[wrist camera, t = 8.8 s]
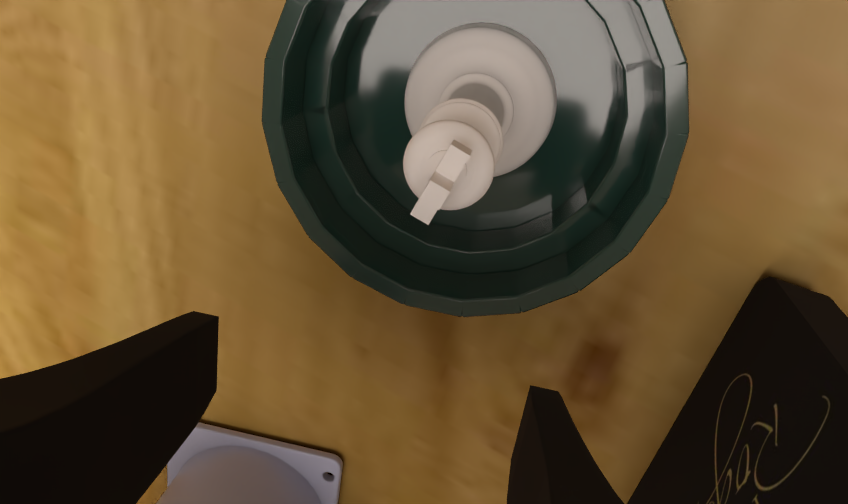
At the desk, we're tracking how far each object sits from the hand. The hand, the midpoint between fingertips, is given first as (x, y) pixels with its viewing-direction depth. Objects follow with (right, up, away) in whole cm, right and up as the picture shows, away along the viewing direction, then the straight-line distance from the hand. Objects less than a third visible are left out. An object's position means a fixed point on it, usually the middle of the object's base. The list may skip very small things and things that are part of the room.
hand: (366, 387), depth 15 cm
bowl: (+3, +8, +7) cm, 11 cm away
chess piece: (+3, +8, +7) cm, 11 cm away
